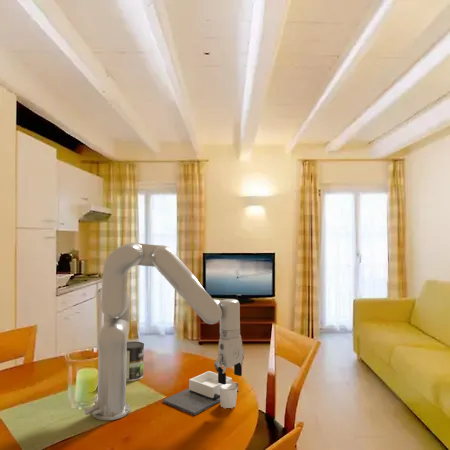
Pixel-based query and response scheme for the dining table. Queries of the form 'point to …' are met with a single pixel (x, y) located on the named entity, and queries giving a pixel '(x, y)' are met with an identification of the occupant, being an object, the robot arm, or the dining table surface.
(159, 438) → the dining table surface
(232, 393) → the white tapered cylinder
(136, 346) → the coffee can
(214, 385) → the white tray on base
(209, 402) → the dark grey base plate
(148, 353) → the dining table surface
